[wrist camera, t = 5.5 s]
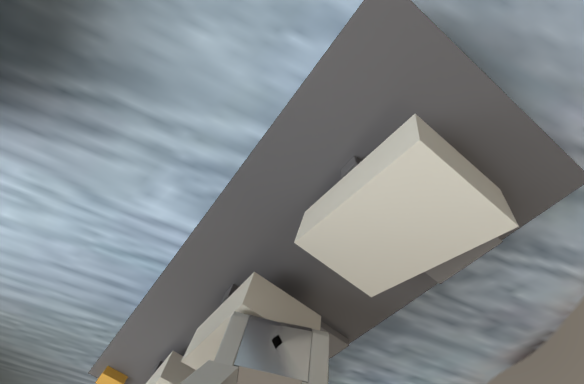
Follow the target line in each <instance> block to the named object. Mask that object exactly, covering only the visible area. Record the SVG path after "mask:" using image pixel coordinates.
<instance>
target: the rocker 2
mask: <svg viewBox="0 0 584 384" xmlns="http://www.w3.org/2000/svg"><path fill="white" fill-rule="evenodd" d="M234 311H235V312H240V313H244V314H248V315H252V316H256V317H260V318H264V319H268V320H272V321H276V322H280V323H281V322H284V323H288V324H293V325H298V326H303V327H308V328H312V329H315V330H320V326H321V316H320V315H319V314H317V313H316V312H314V311H313V310H311V309H310V308H308V307H307V306H305V305H304V304H302V303H301V302H299V301H298V300H296V299H295V298H293V297H292V296H290V295H289V294H287V293H286V292H284V291H283V290H281V289H280V288H278V287H277V286H275V285H274V284H272V283H271V282H269V281H268V280H266V279H265V278H263V277H262V276H260V275H259V274H257V273H256V272H254V273H253V274H252V275H251V276H250V277H249V278H248V279H247V280H246V281H245V282H244V283H243V284H242V285H241V286H240V287H239V288H238V289H237V290H236V291H235V292H234V293H233V294H232V295H231V296H230V297H229V298H228V299H227V300H225V301H224V302H223V303H222V304H221V305H220V306H219V307H218V308H217V309H216V310H215V311H214V312H213V313H212V314H211V315H210V316H209V317H208V318H207V319H206V320H205V321H204V322H203V323H202V324H201V325H200V326H199V327H198V328H197V330H196V332H195V334H194V336H193V338H192V340H191V342H190V344H189V346H188V348H187V350H186V352H185V354H184V356H183V358H182V360H181V362H183V363H184V364H186V365H188V366H190V367H191V368H193V369H195V370H197V369H198V368H200V367H201V366H202V365H203V364H205V363H206V362H207V361H208V360H212V361H214V359H215V357H216V354H217V352H218V349H219V346H220V344H221V341H222V339H223V336H224V334H225V331H226V328H227V326H228V323H229V321H230V318H231V316H232V314H233V313H234Z"/></svg>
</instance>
